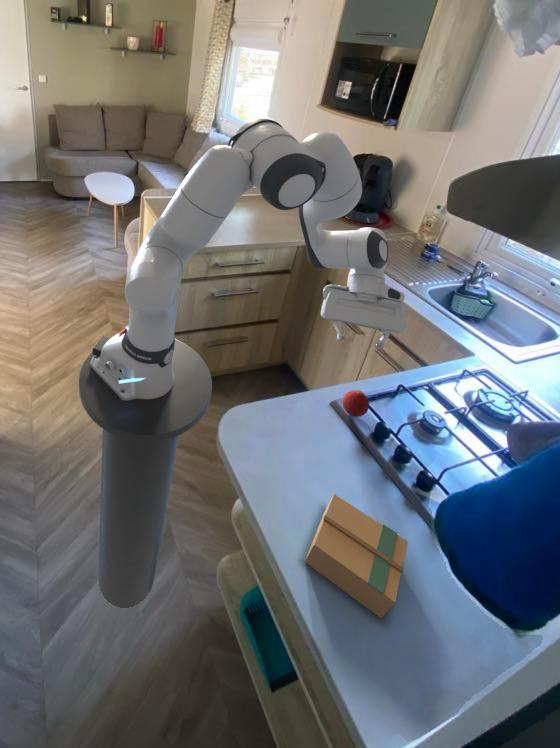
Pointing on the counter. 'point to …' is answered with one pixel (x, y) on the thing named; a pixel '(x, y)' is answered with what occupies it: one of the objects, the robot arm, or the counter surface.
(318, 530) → the brown cardboard box
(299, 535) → the counter surface
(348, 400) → the red round fruit
